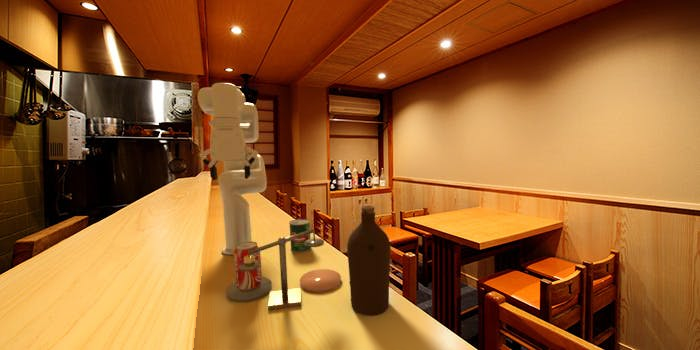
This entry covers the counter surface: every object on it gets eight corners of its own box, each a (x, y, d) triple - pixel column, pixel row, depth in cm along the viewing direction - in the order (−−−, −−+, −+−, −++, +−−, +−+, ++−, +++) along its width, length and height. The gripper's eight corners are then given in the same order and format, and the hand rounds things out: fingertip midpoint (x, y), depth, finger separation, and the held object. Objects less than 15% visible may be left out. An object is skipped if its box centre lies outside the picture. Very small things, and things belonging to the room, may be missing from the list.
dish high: (299, 275, 88) (299, 271, 88) (337, 270, 90) (337, 267, 90) (300, 294, 76) (300, 290, 76) (344, 289, 79) (343, 285, 79)
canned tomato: (307, 244, 116) (306, 217, 115) (314, 250, 109) (312, 222, 108) (288, 247, 112) (286, 220, 111) (294, 254, 105) (292, 225, 104)
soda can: (254, 293, 75) (251, 250, 74) (230, 291, 77) (227, 249, 76) (266, 281, 82) (264, 241, 81) (244, 279, 84) (242, 240, 82)
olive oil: (400, 307, 69) (399, 207, 67) (365, 323, 63) (363, 214, 61) (373, 289, 78) (371, 201, 75) (340, 302, 72) (337, 206, 70)
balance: (244, 299, 75) (239, 230, 73) (324, 289, 79) (322, 224, 77) (239, 314, 68) (234, 239, 66) (327, 302, 72) (324, 231, 70)
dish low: (231, 282, 84) (231, 279, 84) (273, 278, 87) (273, 274, 86) (221, 304, 73) (221, 300, 72) (270, 298, 75) (269, 294, 75)
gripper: (193, 124, 83) (197, 181, 85) (254, 123, 86) (257, 179, 88) (201, 125, 90) (205, 179, 92) (257, 125, 93) (260, 176, 95)
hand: (231, 179), depth 90 cm, fingers open, 9 cm apart
